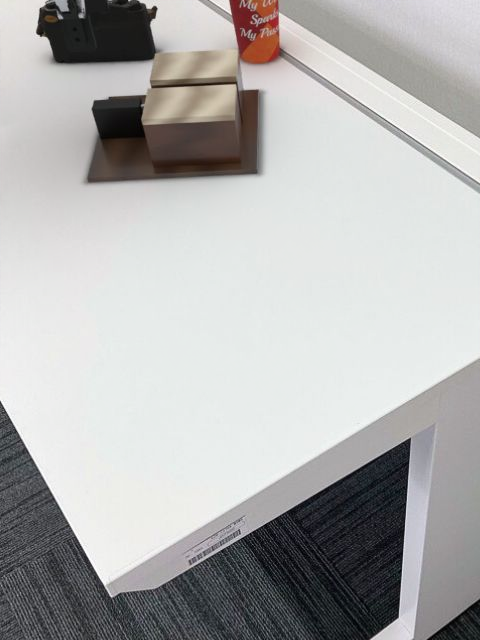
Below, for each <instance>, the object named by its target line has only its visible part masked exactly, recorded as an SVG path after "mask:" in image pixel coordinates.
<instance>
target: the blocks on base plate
mask: <svg viewBox="0 0 480 640" xmlns="http://www.w3.org/2000/svg"><path fill="white" fill-rule="evenodd" d="M241 67H242V66H241V59H240V53H239V48H238V49H216V50H214V49H213V50H195V51H194V50H193V51H176V52H175V51H172V52H170V51H169V52H156V53H155V57H154V58H153V61H152V67H151V71H150V75H149V76H150V77H149V84H150V88H147V91H146V94H135V95H119V96H118V95H116V96H115V95H114V96H108V99H128V98H141V101H142V104H145V105H144V110H143V114H142V119H141V120H142V124H143V128H144V132H145V136H146V137H133V138H114V139H100V136H99V134H98V135H97V140H96V144H95V147H94V151H93V155H92V159H91V163H90V165H89V166H90V167H89V169H88V173H87V178H86V179H87V182H88V183H98V182H99V183H101V182H102V183H105V182H122V181H123V182H124V181H141V180H142V181H143V180H159V179H160V180H161V179H179V178H181V179H182V178H197V177H199V178H200V177H215V176H216V177H219V176H234V175H254V174H258V173H259V171H258V170H259V128H260V123H259V122H260V89H257V88H256V89H244V83H243V82H244V81H243V76H242V68H241ZM108 99H107V100H108Z"/></svg>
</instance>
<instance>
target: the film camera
mask: <svg viewBox="0 0 480 640" xmlns="http://www.w3.org/2000/svg"><path fill="white" fill-rule="evenodd" d="M73 1H74V2H75V4H76V5H77V0H73ZM107 1H108V5H109V10H108V12H93V13H85V15H88V14H89V17H90V21H91V25H92V29H93V33H94V37H95V41H96V45H97V48H96V51H92V52H70V51H68V49H67V46H66V42H65V38H64V35H63V31H62V28H61V24H60V21H59V18H58V15H57V9H55V4H54V3H55V1H54V0H46V1H45V2H44V5H43V6H40V7H39V8H38V19H37V26H36V29H35V33H36V35H37V36H39V38H47V40H48V42H49V46H50V48H51V52H52V56H53V59H54V61H55V62H56V63H58V64H62V62H63V61H64V62H65V63H67V64H89V63H117V62H119V63H120V62H144V61H150V60H154V57H155V53H157V50H156V49H157V48H156V44H155V40H154V35H153V31H152V27H151V23H152V22H153V21H154V20H156V18H157V13H158V9H159V8H158V7H157V5H153V6H152V7H151V8H147V4H146V3H144V2H141V1H140V0H107Z"/></svg>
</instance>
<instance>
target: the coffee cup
mask: <svg viewBox="0 0 480 640" xmlns="http://www.w3.org/2000/svg"><path fill="white" fill-rule="evenodd" d="M228 3H229V8H230V14H231V18H232V22H233V28H234V33H235V38H236V43H237V44H236V45H237V48H238V52H239V58H241V60H243V61H244V62H246V63H250V64H266V63H270V62H272V61H275V60H276V59H278V57H279V56H280V52H281V51H280V49H281V48H280V46H281V45H280V10H279V0H228Z"/></svg>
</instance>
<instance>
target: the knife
mask: <svg viewBox="0 0 480 640" xmlns="http://www.w3.org/2000/svg"><path fill="white" fill-rule="evenodd" d="M144 105H145V104H142V101H141V98H128V99H94V100H93V103H92V106H91V113H92V116H93V120H94V122H95V126H96V129H97V133H98V135H99V136H100V139H114V138H133V137H146V136H145V132H144V128H143V124H142V120H141V119H142V114H143V110H144Z"/></svg>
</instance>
